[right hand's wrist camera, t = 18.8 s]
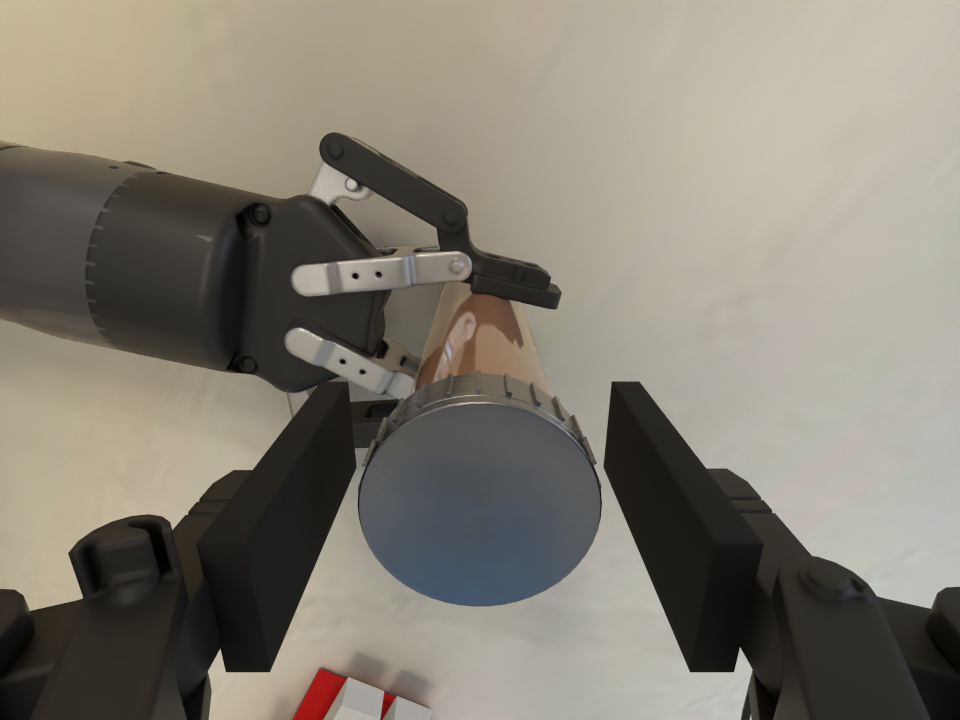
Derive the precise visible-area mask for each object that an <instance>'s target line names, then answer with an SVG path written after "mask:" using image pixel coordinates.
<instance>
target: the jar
mask: <svg viewBox="0 0 960 720" xmlns="http://www.w3.org/2000/svg"><path fill="white" fill-rule="evenodd" d="M476 370H481V373H487V374H496V375H503V376H504V375H505V373H508V374H510V377H511V378H515V379H518V380H521V381H524V382H526V383H529V384H531V383H532V382H534V383H536V385H537V388H539V389H541V390H542V391H544V392H545V393H547V394H548V395H549V396H551V395H550V392H549V389H548V385H547V382H546V379H545V376H544V373H543V370H542V367H541V364H540V361H539V357H538V354H537V351H536V348H535V345H534V342H533V339H532V336H531V333H530V329H529V326H528V323H527V320H526V317H525V314H524V311H523V308H522V305H521V302H517V301H512V300H508V299H503V298H499V297H496V296H492V295H486V294H481V293H477V292H473V291H470V284H467V283H462V282H451V283H445V285H444V287H443V290H442V293H441V297H440V300H439V303H438V306H437V309H436V312H435V315H434V318H433V322H432V325H431V328H430V331H429V334H428V337H427V340H426V343H425V347H424V350H423V353H422V356H421V359H420V362H419V365H418V368H417V371H416V375H415V378H414V381H413V384H412V387H411V390H410V393H409V396H410V395H412V394H413V393H414V392H416V391H418V390H419V389H420V388H421V385H422V384H424V383H426V384H427V385H429V384H431V383H434V382H436V381H438V380H441V379H445V378H447V376H448V374H453V376H457V375H464V374H476ZM409 396H408V397H409Z"/></svg>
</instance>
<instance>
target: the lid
mask: <svg viewBox="0 0 960 720" xmlns="http://www.w3.org/2000/svg"><path fill="white" fill-rule="evenodd" d="M595 464H597V463H596V460H595V458H594V455H593V453H592V450H591V448H590V445H589V443H588V440H587V438H586V437H583V434H582V432H581V429H580V427H579V424H578V422H577V419H576V417H575V416H574V415H572V416H570V415H569V414H568V412H567V411H566V410H565V409H564V408H563V407H562V406H561V404H560V401H559V398H557V397H556V396H555V397H554V398H552V397H551V396H549V395H548V394H547V393H545V392H544V391H542V390H541V389H539V388H537V385H536V383H534V382H532V383H531V384H529V383H526V382H524V381H521V380H518V379H515V378H511V377H510V374H508V373H505V375H504V376H503V375H496V374H487V373H481V370H476V374H464V375H457V376H453V374H448V376H447V378H445V379H441V380H438V381H436V382H434V383H431V384H429V385H427V384H426V383H424V384H422V385H421V388H420V389H419V390H418V391H416V392H414V393H413V394H412V395H410V396H409V397H408V398H406V399H403V398H401V399H400V400H399V402H398V405H397V407H396V408H395V409H394V410H393V412H392V413H391V414H390V416H389V417H388V418H386V417H384V418H383V419H382V422H381V424H380V427H379V429H378V432H377V434H376V437H375V439H374V438H373V440H372V442H371V445H370V447H369V449H368V452H367V454H366V457H365V459H364V462H363V465H362V466H364V467H366V468H365V470H364V473H363V476H362V479H361V482H360V484H359V487H358V491H359V493H358V512H359V520H360V524H361V528H362V531H363V534H364V537H365V539H366V541H367V543H368V546H369V547H370V549H371V551H372V552H373V554H374V555H375V557H376V558H377V560H378V561H379V562H380V563H381V564H382V566H383V567H384V568H385V569H386V570H387V571H388V572H389V573H390V574H392V575H393V576H394V577H395V578H396V579H398V580H399V581H400V582H402V583H403V584H404V585H406V586H408V587H409V588H411V589H413V590H415V591H416V592H418V593H421V594H423V595H425V596H428V597H430V598H433V599H436V600H439V601H443V602H446V603H451V604H457V605H464V606H495V605H504V604H508V603H513V602H517V601H520V600H523V599H526V598H529V597H532V596H534V595H537V594H539V593H541V592H543V591H545V590H547V589H548V588H550V587H552V586H553V585H555V584H557V583H558V582H559V581H561V580H562V579H563V578H564V577H566V576H567V575H568V574H569V573H570V572H571V571H572V570H573V569H574V568H575V567H576V566H577V565H578V564H579V563H580V561H581V560H582V559H583V558H584V556H585V555H586V553H587V552H588V550H589V548H590V546H591V545H592V543H593V540H594V538H595V535H596V533H597V530H598V526H599V522H600V518H601V508H602V499H601V484H600V481H599V478H598V476H597V473H596V471H595V468H594V466H593V465H595Z"/></svg>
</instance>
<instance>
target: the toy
mask: <svg viewBox="0 0 960 720" xmlns="http://www.w3.org/2000/svg"><path fill="white" fill-rule="evenodd" d="M431 717H432V709H429V708H427V707H424V706H421V705H419V704H416V703H414V702H411V701H409V700H406V699H404V698H401V697H398V696H397V697H395V696H393V695H390V694H387V693H384V691H383V690H381V689H378V688H376V687H373V686H370V685H368V684H365V683H363V682H360V681H358V680H355V679H353V678H350V677H348V678H347V679H346V678H343V677H340V676H338V675H335V674H332V673H329V672H327V671H324V670H321V669H319V671H318V673H317V675H316V677H315V679H314V680H313V682H312V684H311V686H310V688H309V690H308V692H307V694H306V696H305V697H304V699H303V701H302V703H301V705H300V707H299V709H298V711H297V713H296V714H295V716H294V718H293V720H431Z"/></svg>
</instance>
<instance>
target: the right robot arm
mask: <svg viewBox="0 0 960 720" xmlns="http://www.w3.org/2000/svg"><path fill="white" fill-rule="evenodd" d="M355 469H356V458H355V448H354V437H353V427H352V416H351V406H350V396H349V385H348V382H320V383H319V385H318V386H317V387H316V388H315V390H314V391H313V392H312V394H311V395H310V396H309V398H308V399H307V400H306V401H305V403H304V404H303V405H302V407H301V408H300V409H299V411H298V412H297V413H296V414H295V416H294V417H293V418H292V420H291V421H290V422H289V424H288V425H287V426H286V427H285V429H284V430H283V431H282V433H281V434H280V435H279V437H278V438H277V439H276V440H275V442H274V443H273V444H272V446H271V447H270V448H269V450H268V451H267V452H266V453H265V455H264V456H263V457H262V459H261V460H260V461H259V463H258V464H257V465H256V466H255V468H254V469H253V470H233V471H232V472H230V473H229V474H227V475H225V476H224V477H222V478H221V479H219V480H218V481H216V482H214V483H213V484H212V485H211V486H210V487H209V489H208V490H207V491H206V492H205V493H204V494H203V496H202V497H201V498H200V501H199V502H197V503H196V504H195V505H194V506H193V507H192V508H191V509H190V511H189V512H188V515H185V516H184V518H183V519H182V520H181V521H180V522H179V523H178V524H177V526H176V527H175V528H174V529H173V530H172V528H171V524H170V522H169V521H168V520H166V519H165V518H164V517H162V516H155V515H149V514H148V515H138V516H130V517H127V518H123V519H120V520H116V521H113V522H111V523H108V524H106V525H104V526H102V527H100V528H98V529H96V530H93V531H92V532H91V533H89V534H88V535H86V536H85V537H83V538H82V539H81V540H79V541H78V542H77V543H76V544H75V546H74V547H73V548H72V549H71V550H70V552H69V553H68V554H69V557H70V560H71V563H72V566H73V569H74V571H75V574H76V577H77V580H78V583H79V586H80V589H81V592H82V595H83V599H80V600H77V601H73V602H68V603H64V604H59V605H55V606H50V607H46V608H42V609H37V610H33V611H29V608H28V606H27V603H26V601H25V598H24V596H23V595H22V594H20V593H19V592H17V591H16V590H9V589H0V720H208V719H209V710H210V701H211V692H212V691H211V685H210V679H209V675H208V670H209V668H210V666H211V664H212V662H213V661H214V659H215V657H216V655H217V653H218V652H219V650H220V648H221V652H222V657H223V661H224V665H225V669H226V672H270V671H271V668H272V666H273V663H274V661H275V659H276V656H277V654H278V652H279V649H280V647H281V645H282V642H283V640H284V637H285V635H286V633H287V630H288V628H289V626H290V623H291V621H292V618H293V616H294V614H295V611H296V609H297V607H298V604H299V602H300V600H301V597H302V595H303V592H304V590H305V588H306V585H307V583H308V581H309V578H310V576H311V574H312V571H313V569H314V566H315V564H316V562H317V559H318V557H319V555H320V552H321V550H322V547H323V545H324V543H325V540H326V538H327V536H328V533H329V531H330V529H331V526H332V524H333V521H334V519H335V517H336V514H337V512H338V510H339V507H340V505H341V502H342V500H343V498H344V495H345V493H346V491H347V488H348V486H349V484H350V481H351V479H352V476H353V474H354V472H355ZM604 469H605V472H606V474H607V476H608V479H609V481H610V484H611V486H612V488H613V491H614V493H615V495H616V498H617V500H618V503H619V505H620V507H621V510H622V512H623V514H624V517H625V519H626V521H627V524H628V526H629V529H630V531H631V533H632V536H633V538H634V540H635V543H636V545H637V547H638V550H639V552H640V555H641V557H642V559H643V562H644V564H645V566H646V569H647V571H648V574H649V576H650V578H651V581H652V583H653V585H654V588H655V590H656V592H657V595H658V597H659V600H660V602H661V604H662V607H663V609H664V611H665V614H666V616H667V618H668V621H669V623H670V626H671V628H672V630H673V633H674V635H675V637H676V640H677V642H678V645H679V647H680V649H681V652H682V654H683V656H684V659H685V661H686V663H687V666H688V668H689V671H690V672H734V669H735V665H736V661H737V657H738V652H739V648H740V647H741V649H742V651H743V653H744V654H745V656H746V658H747V660H748V662H749V663H750V665H751V667H752V669H753V671H752V675H751V679H750V683H749V687H748V691H747V695H746V699H745V703H744V707H743V711H742V716H741V720H749V719H750V715H751V718H752V720H960V587H948V588H945V589H943V590H942V591H940V592H939V593H937V596H936V598H935V601H934V603H933V606H932V608H931V609H929V608H924V607H920V606H915V605H911V604H906V603H902V602H897V601H893V600H888V599H884V598H881V597H877V596H876V595H875V593H874V592H873V590H872V589H871V588H870V586H869V585H868V584H867V583H866V582H865V581H864V580H862V579H861V578H860V577H859V576H857V575H856V574H855V573H854V572H852V571H850V570H848V569H846V568H845V567H843V566H841V565H839V564H837V563H835V562H832V561H829V560H826V559H823V558H819V557H815V556H812V555H811V554H810V553H809V552H808V551H807V550H806V549H805V547H804V546H803V545H802V544H801V543H800V542H799V541H798V539H797V538H796V537H795V536H794V535H793V534H792V532H791V531H790V530H789V529H788V528H787V527H786V526H785V524H784V523H783V522H782V521H781V520H780V519H779V518H778V516H777V515H776V514H775V513H772V510H771V508H770V507H769V506H768V505H767V504H766V503H765V501H764V500H761V497H760V496H759V495H758V493H757V492H756V491H755V490H754V489H753V488H752V487H751V485H750V484H749V483H748V482H747V481H745V480H744V479H742V478H741V477H739V476H737V475H736V474H734V473H733V472H731V471H730V470H728V469H706V468H705V466H704V465H703V464H702V463H701V461H700V460H699V459H698V457H697V456H696V455H695V453H694V452H693V451H692V450H691V448H690V447H689V446H688V444H687V443H686V442H685V440H684V439H683V438H682V437H681V435H680V434H679V433H678V431H677V430H676V429H675V427H674V426H673V425H672V424H671V422H670V421H669V420H668V418H667V417H666V416H665V414H664V413H663V412H662V411H661V409H660V408H659V407H658V405H657V404H656V403H655V401H654V400H653V399H652V398H651V396H650V395H649V394H648V392H647V391H646V390H645V388H644V387H643V386H642V385H641V383H640V382H612V385H611V396H610V406H609V416H608V427H607V437H606V448H605V458H604Z"/></svg>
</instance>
